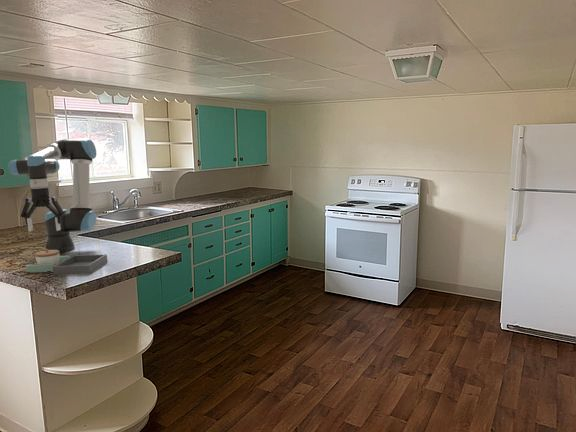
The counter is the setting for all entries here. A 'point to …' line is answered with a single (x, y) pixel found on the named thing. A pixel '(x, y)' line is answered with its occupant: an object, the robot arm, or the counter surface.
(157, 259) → the counter surface
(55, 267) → the tray
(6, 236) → the counter surface
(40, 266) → the rail holder
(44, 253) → the white round bowl
